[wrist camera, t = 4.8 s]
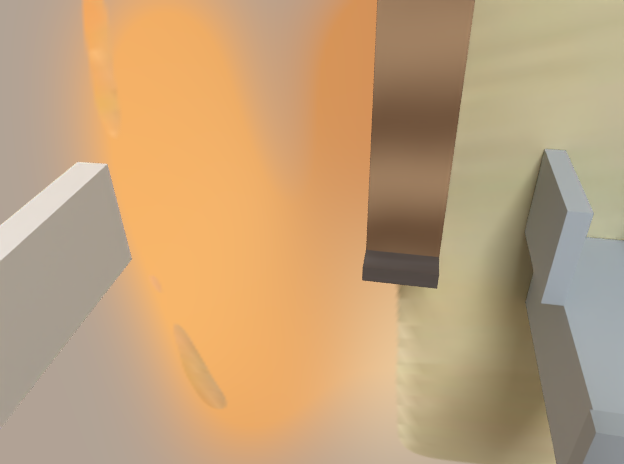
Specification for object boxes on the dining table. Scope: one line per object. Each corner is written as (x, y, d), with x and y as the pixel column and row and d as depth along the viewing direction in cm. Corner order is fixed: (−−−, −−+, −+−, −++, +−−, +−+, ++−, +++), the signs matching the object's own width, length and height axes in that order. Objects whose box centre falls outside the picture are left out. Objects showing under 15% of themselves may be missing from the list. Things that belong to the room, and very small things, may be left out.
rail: (394, -123, 22) (378, -120, 17) (482, -125, 21) (495, -123, 16) (375, 210, 31) (362, 280, 26) (437, 216, 30) (437, 288, 25)
